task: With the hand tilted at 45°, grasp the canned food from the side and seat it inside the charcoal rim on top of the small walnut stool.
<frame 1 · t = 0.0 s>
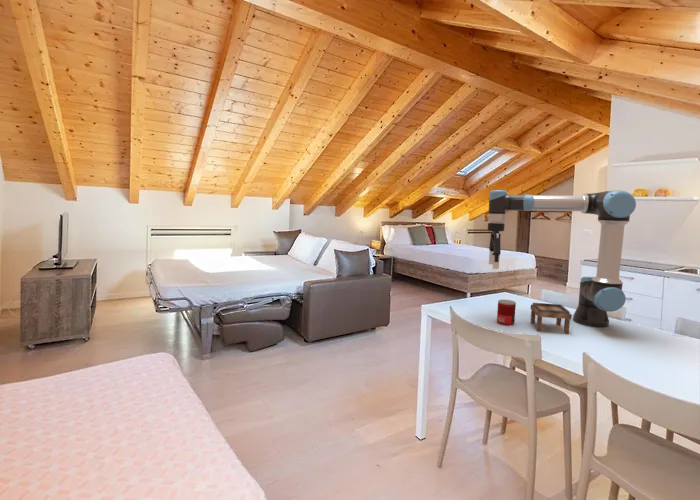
hand: (493, 266, 182), 28 cm above the table, tool pointing down, fingers open, 13 cm apart
stool: (548, 327, 178), on the table
canned food: (505, 323, 184), on the table
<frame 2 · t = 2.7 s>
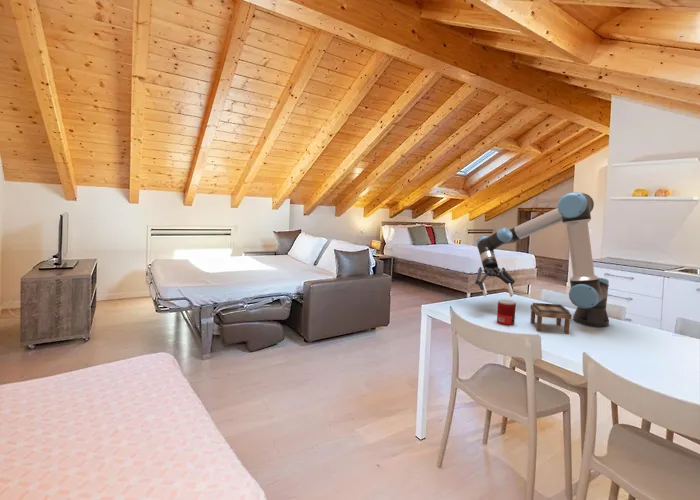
hand: (498, 295, 191), 12 cm above the table, tool tilted 45°, fingers open, 13 cm apart
nothing on the table moved.
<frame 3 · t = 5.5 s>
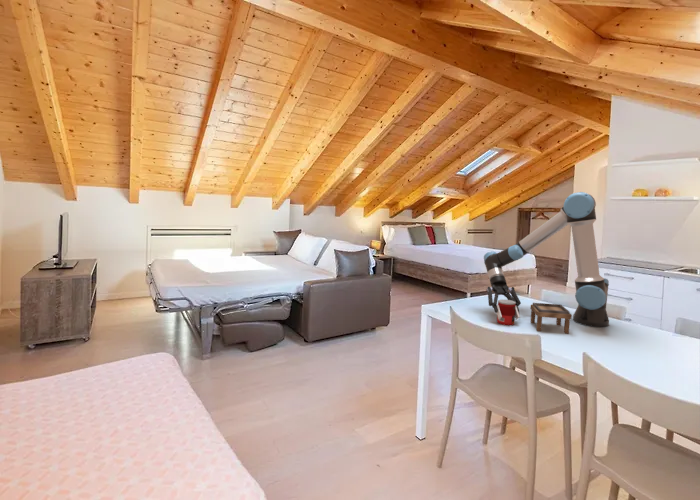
hand: (509, 318, 181), 4 cm above the table, tool tilted 45°, fingers closed on canned food, 8 cm apart
canned food: (505, 323, 184), on the table, touching gripper
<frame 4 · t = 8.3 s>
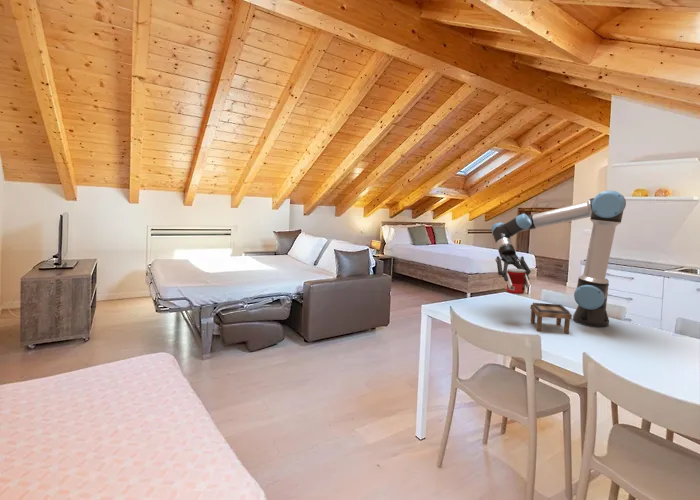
hand: (519, 286, 178), 19 cm above the table, tool tilted 45°, fingers closed on canned food, 8 cm apart
canned food: (515, 292, 182), point 16 cm above the table, touching gripper
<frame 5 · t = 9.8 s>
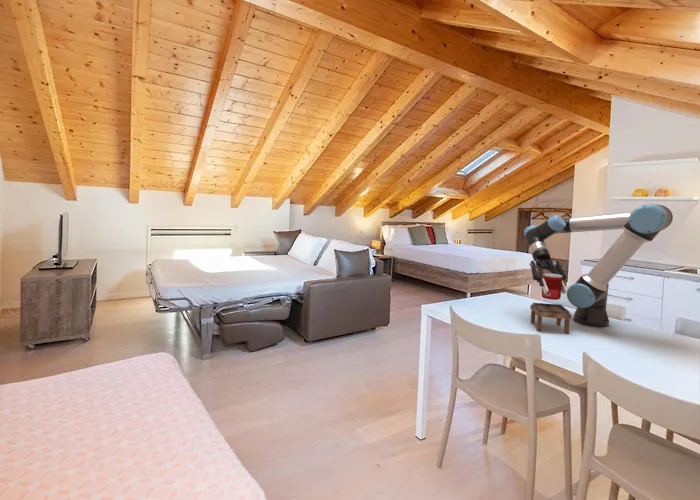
hand: (555, 292, 173), 18 cm above the table, tool tilted 45°, fingers closed on canned food, 8 cm apart
canned food: (550, 298, 177), point 14 cm above the table, touching gripper
when the fingers open (14 cm above the table, at t = 11.0 s): canned food drops 2 cm, resting on stool.
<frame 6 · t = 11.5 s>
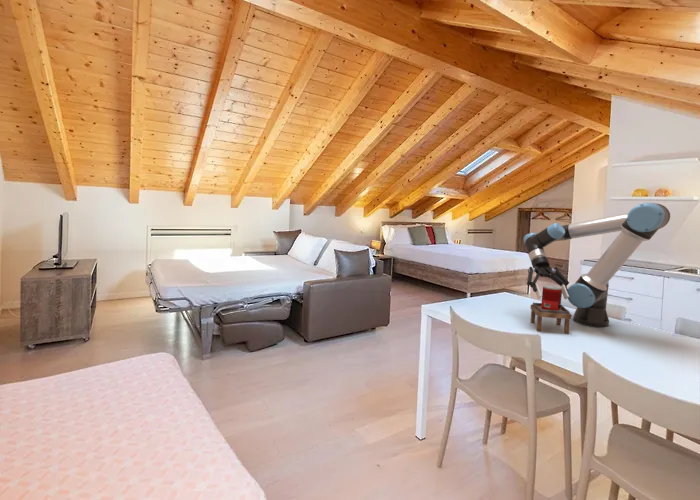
hand: (553, 297, 174), 15 cm above the table, tool tilted 45°, fingers open, 12 cm apart
canned food: (550, 309, 177), point 9 cm above the table, touching stool
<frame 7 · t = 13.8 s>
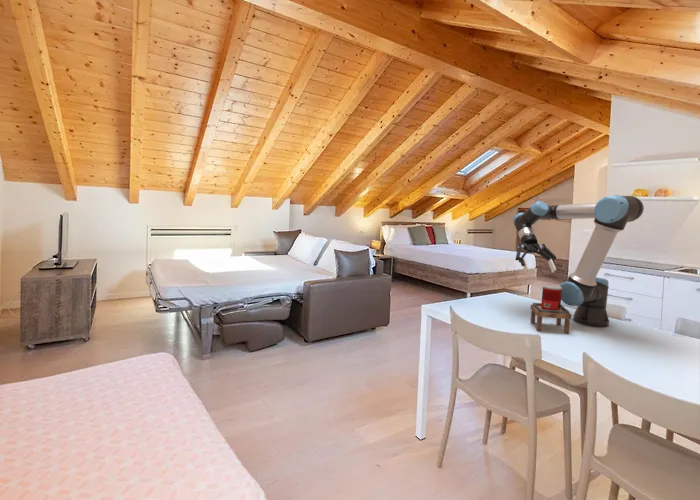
hand: (540, 271, 186), 25 cm above the table, tool tilted 45°, fingers open, 13 cm apart
nothing on the table moved.
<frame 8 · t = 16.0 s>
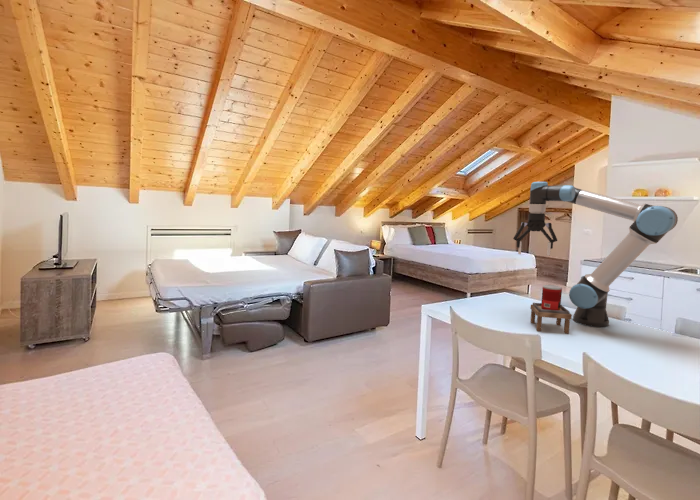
hand: (533, 254, 192), 33 cm above the table, tool pointing down, fingers open, 13 cm apart
nothing on the table moved.
at the end: canned food 0.1 cm off-centre on the stool, point 8.8 cm above the stool's base; canned food tilted 0°; the gripper is holding nothing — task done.
